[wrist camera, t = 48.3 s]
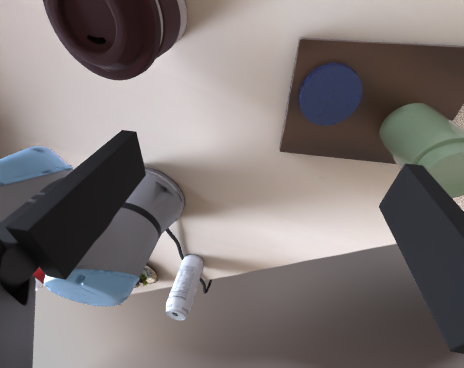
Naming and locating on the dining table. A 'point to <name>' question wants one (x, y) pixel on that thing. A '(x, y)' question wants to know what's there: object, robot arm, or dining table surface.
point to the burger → (147, 277)
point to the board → (372, 93)
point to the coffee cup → (117, 32)
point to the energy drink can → (184, 287)
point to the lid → (330, 94)
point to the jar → (426, 144)
